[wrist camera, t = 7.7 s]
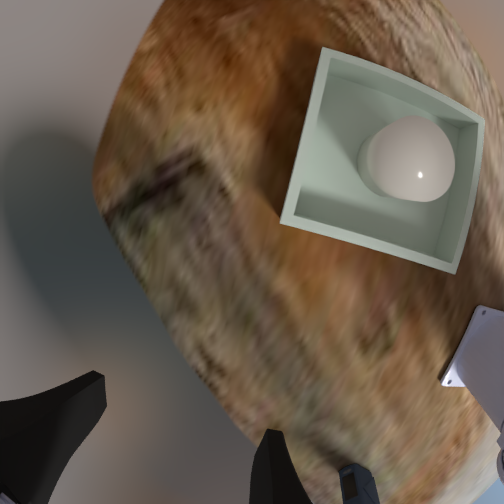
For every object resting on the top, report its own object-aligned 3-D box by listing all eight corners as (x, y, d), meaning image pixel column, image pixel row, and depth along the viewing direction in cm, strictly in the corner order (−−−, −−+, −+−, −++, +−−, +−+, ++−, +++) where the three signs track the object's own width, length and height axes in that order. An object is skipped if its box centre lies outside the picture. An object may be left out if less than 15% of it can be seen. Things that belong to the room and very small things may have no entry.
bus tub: (462, 126, 16) (484, 119, 13) (434, 263, 18) (455, 274, 15) (316, 66, 16) (322, 46, 13) (279, 218, 18) (280, 223, 15)
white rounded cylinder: (421, 147, 16) (460, 137, 11) (407, 206, 17) (444, 214, 12) (365, 122, 16) (391, 101, 11) (349, 184, 17) (372, 183, 12)
